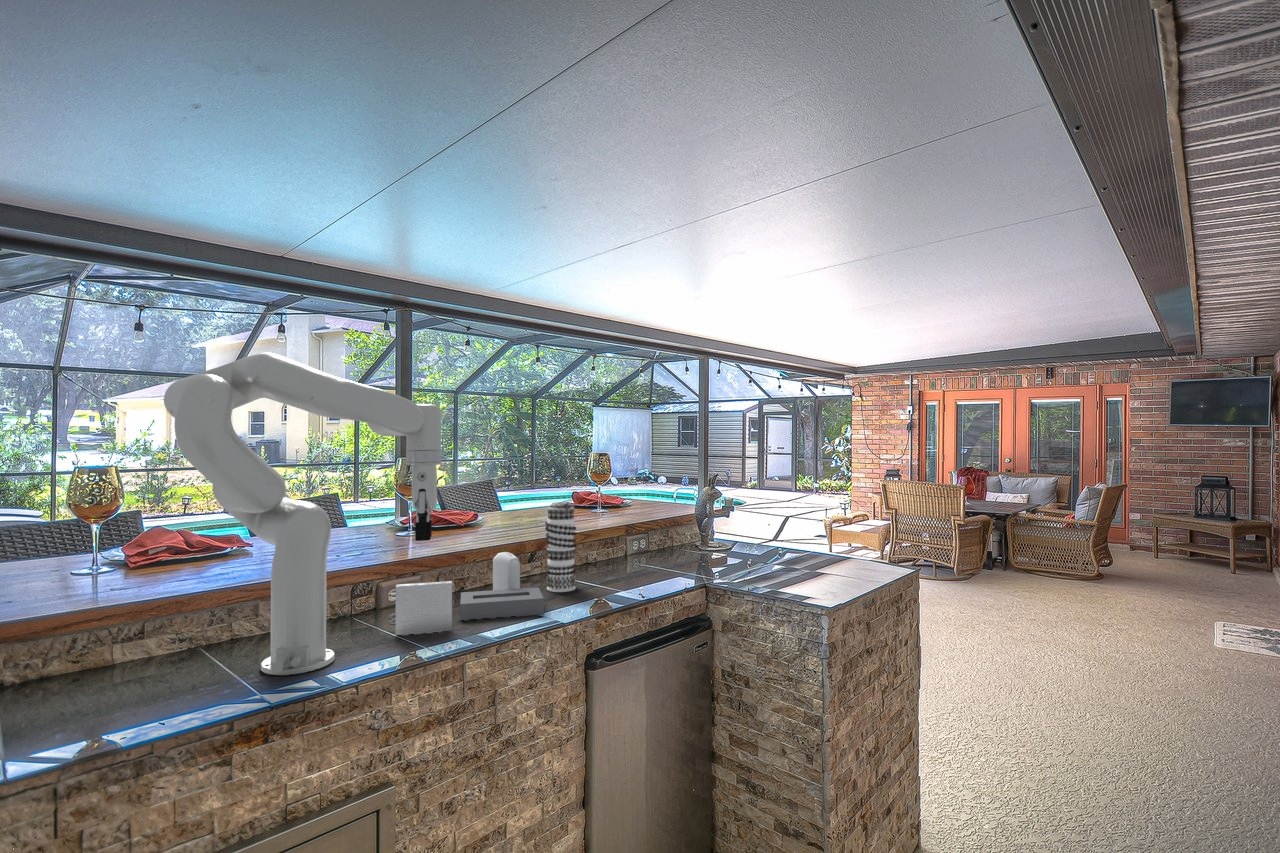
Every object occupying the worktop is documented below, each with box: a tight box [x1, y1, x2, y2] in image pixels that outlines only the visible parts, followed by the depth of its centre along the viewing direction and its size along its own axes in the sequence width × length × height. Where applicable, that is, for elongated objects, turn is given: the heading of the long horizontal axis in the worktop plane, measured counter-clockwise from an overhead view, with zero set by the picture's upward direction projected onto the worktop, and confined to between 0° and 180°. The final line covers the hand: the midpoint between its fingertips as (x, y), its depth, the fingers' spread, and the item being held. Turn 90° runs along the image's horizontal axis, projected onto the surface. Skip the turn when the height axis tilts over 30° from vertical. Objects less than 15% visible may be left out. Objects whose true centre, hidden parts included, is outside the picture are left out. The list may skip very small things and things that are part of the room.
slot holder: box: [459, 586, 545, 621], centre depth 160 cm, size 12×20×4 cm, turn 105°
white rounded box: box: [492, 551, 521, 590], centre depth 174 cm, size 10×4×12 cm, turn 39°
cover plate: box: [395, 580, 453, 636], centre depth 143 cm, size 2×12×11 cm, turn 106°
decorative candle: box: [544, 501, 577, 593], centre depth 184 cm, size 9×9×25 cm
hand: (423, 538), depth 143 cm, fingers open, 3 cm apart
